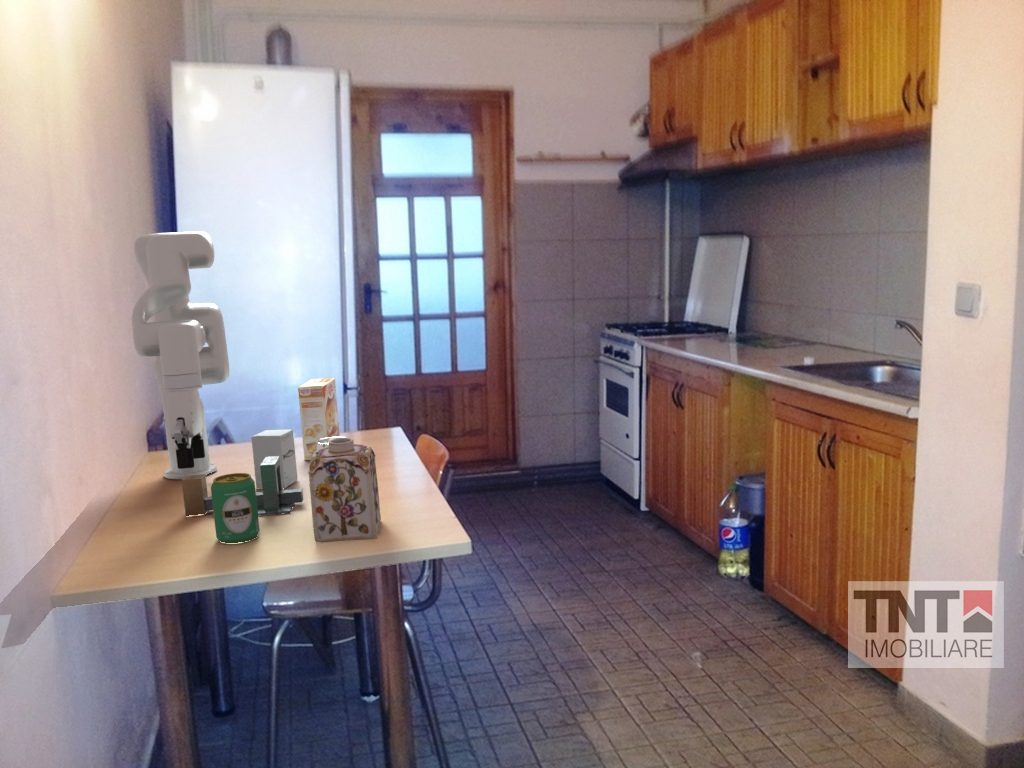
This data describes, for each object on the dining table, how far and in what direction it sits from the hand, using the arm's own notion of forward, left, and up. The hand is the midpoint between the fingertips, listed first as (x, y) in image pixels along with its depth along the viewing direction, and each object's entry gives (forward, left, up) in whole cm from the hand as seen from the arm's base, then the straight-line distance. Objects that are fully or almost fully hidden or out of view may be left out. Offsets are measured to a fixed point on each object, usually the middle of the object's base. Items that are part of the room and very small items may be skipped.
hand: (191, 462), depth 186 cm
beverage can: (+19, +12, -11) cm, 25 cm away
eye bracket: (-1, +16, -11) cm, 19 cm away
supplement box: (-20, +14, -11) cm, 27 cm away
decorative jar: (+21, +33, -11) cm, 41 cm away
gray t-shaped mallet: (-1, +10, -11) cm, 15 cm away
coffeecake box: (-50, +22, -11) cm, 55 cm away
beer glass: (+6, +30, -11) cm, 33 cm away
